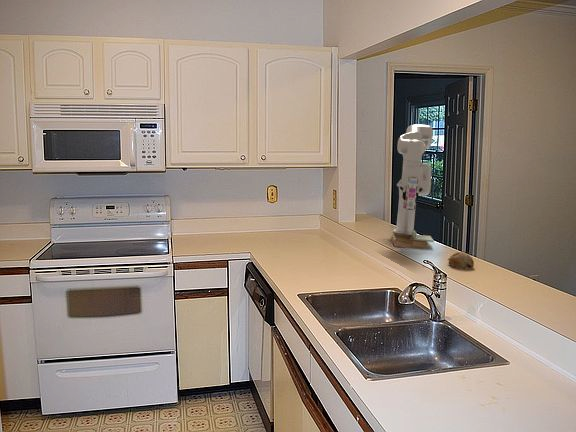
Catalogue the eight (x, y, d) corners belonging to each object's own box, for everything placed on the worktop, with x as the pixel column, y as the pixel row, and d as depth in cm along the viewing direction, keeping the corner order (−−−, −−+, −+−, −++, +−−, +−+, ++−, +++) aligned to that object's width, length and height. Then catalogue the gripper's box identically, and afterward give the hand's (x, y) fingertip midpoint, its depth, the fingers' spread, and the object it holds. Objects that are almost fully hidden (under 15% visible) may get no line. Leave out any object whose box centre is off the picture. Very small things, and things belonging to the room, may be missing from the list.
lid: (411, 235, 280) (411, 229, 280) (429, 237, 279) (430, 230, 279) (413, 240, 267) (414, 233, 266) (433, 242, 266) (434, 235, 265)
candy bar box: (415, 210, 273) (418, 177, 271) (405, 209, 273) (408, 177, 271) (412, 208, 284) (415, 176, 282) (402, 207, 284) (405, 176, 282)
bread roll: (457, 277, 225) (465, 262, 221) (441, 262, 232) (449, 247, 228) (472, 275, 230) (481, 260, 226) (456, 260, 237) (464, 246, 233)
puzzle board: (391, 239, 284) (392, 233, 283) (422, 242, 282) (423, 235, 282) (394, 246, 266) (394, 238, 266) (427, 249, 264) (428, 241, 264)
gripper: (429, 165, 279) (425, 201, 281) (395, 163, 280) (392, 198, 282) (431, 166, 271) (427, 202, 273) (396, 163, 273) (393, 199, 275)
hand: (409, 199), depth 278 cm, fingers closed on candy bar box, 5 cm apart
